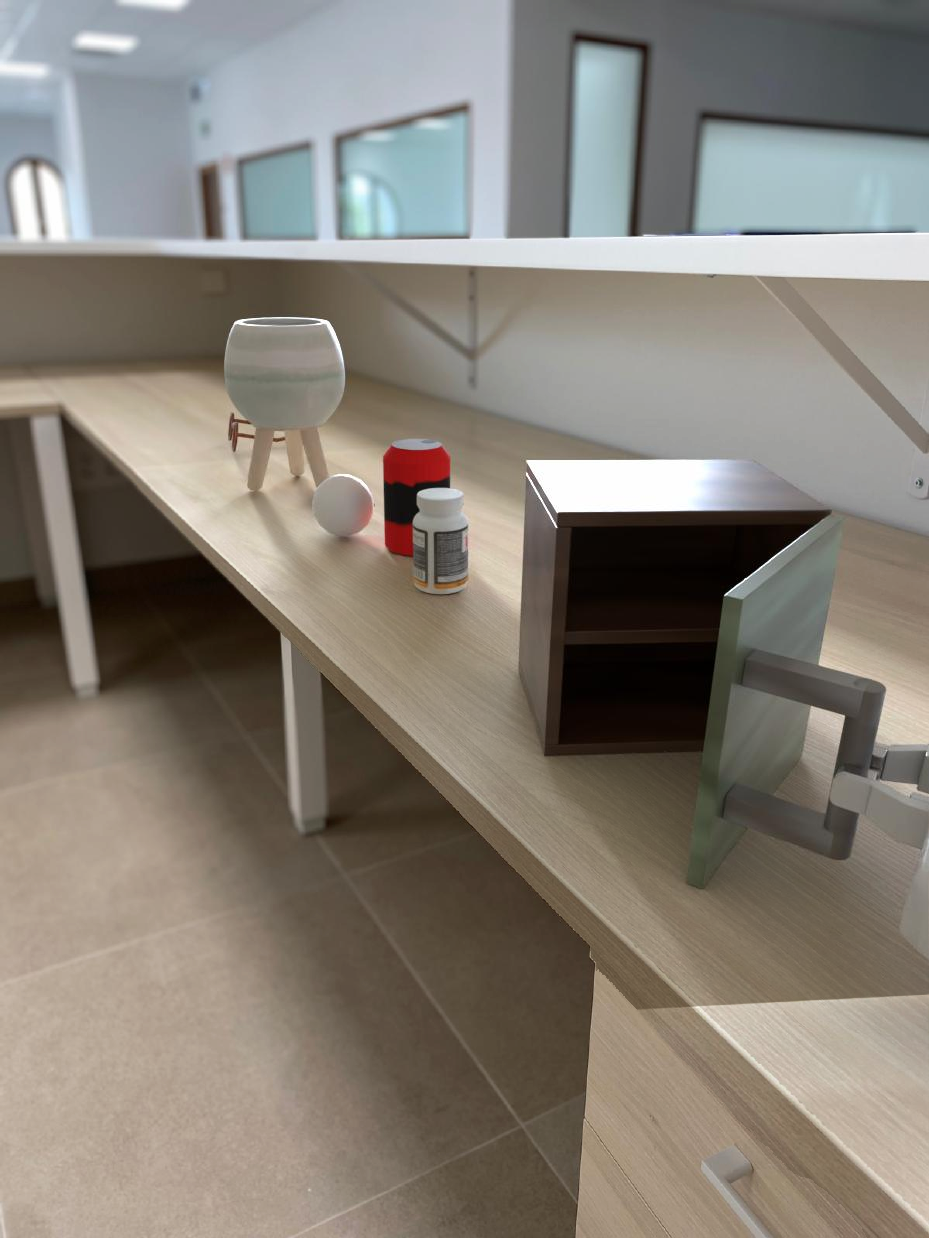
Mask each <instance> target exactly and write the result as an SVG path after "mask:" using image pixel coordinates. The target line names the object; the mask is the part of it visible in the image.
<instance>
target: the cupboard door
mask: <svg viewBox="0 0 929 1238" xmlns="http://www.w3.org/2000/svg"><path fill="white" fill-rule="evenodd" d="M845 520H846V516H841V515H836V514H832V513H831V514H830V515H828V516H827V517H826V518H824V519H823V520H822V521H820V522H819V523H818V524H816V525H815V526H814V527H813V528H811V529H810V530H809V531H807V532H806V533H805V534H803V535H802V536H801V537H800V538H798V539H797V540H796V541H794V542H793V543H792V544H790V545H789V546H788V547H787V548H785V549H784V550H783V551H781V552H780V553H779V554H777V555H776V556H775V557H774V558H772V559H771V560H770V561H768V562H767V563H766V564H764V565H763V566H762V567H761V568H759V569H758V570H757V571H755V572H754V573H753V574H751V575H750V576H749V577H748V578H746V579H745V580H744V581H742V582H741V583H740V584H738V585H737V586H736V587H735V588H733V589H732V590H731V591H729V592H728V593H727V594H725V595H724V599H723V606H722V614H721V621H720V629H719V637H718V644H717V652H716V659H715V667H714V674H713V682H712V689H711V697H710V704H709V712H708V719H707V727H706V734H705V742H704V750H703V752H702V756H701V757H702V758H701V766H700V771H699V772H700V773H699V780H698V782H699V783H698V787H697V795H696V803H695V811H694V818H693V826H692V831H691V841H690V849H689V855H688V862H687V870H686V878H685V883H686V884H689V885H691V886H693V887H695V888H698V889H701V890H702V889H703V888H704V887H705V886H706V885H707V883H708V882H709V881H710V879H711V878H712V876H714V874H715V873H716V871H717V869H719V867H720V866H721V864H722V863H723V862H724V860H725V859H726V858H727V856H729V854H730V852H731V851H732V850H733V848H735V846H736V845H737V843H738V842H739V840H740V839H741V838H742V837H743V835H744V834H745V832H746V831H747V830H748V829H750V830H753V831H755V832H758V833H759V834H764V835H765V836H769V837H771V838H774V839H776V840H780V841H782V842H785V843H788V844H790V845H793V846H795V847H799V848H801V849H804V850H806V851H808V852H812V853H813V854H814V853H815V854H816V855H817V854H818V855H820V856H823V857H825V858H828V859H830V860H835V861H846V860H848V859H849V858H850V857H851V856H852V851H853V846H854V842H855V838H856V832H857V827H858V823H859V819H860V814H859V813H856V812H853V811H850V810H847V809H844V808H841V807H838V806H835V805H834V804H832V802H831V801H830V798H829V796H830V793H829V795H828V800H827V804H826V809H825V813H824V812H821V811H818V810H815V809H812V808H811V807H806V806H804V805H801V804H799V803H795V802H792V801H790V800H787V799H784V798H781V797H778V796H775V795H774V794H775V793H776V791H777V790H778V789H779V788H780V786H781V784H782V783H783V782H784V780H785V779H786V778H787V776H788V775H789V774H790V772H792V770H793V769H794V767H795V766H796V764H797V763H798V762H799V761H800V759H801V758H802V757H803V752H804V746H805V741H806V736H807V730H808V726H809V725H808V724H809V719H810V714H811V708H812V707H813V708H817V709H821V710H825V711H828V712H831V713H835V714H838V715H841V716H844V719H843V724H842V729H841V734H840V738H839V744H838V749H837V755H836V759H835V765H834V769H833V770H834V771H833V774H832V779H831V784H830V790H829V792H830V791H831V787H832V782H833V779H834V777H835V775H836V773H837V771H838V769H839V768H840V766H841V765H843V764H846V763H847V764H848V763H849V764H852V765H855V766H857V767H858V768H867V769H869V768H870V763H871V759H872V754H873V749H874V745H875V742H876V739H877V734H878V730H879V726H880V721H881V716H882V712H883V707H884V704H885V703H884V702H885V698H886V695H887V694H886V693H887V687H886V686H885V684H883V683H882V682H880V681H878V680H874V679H871V678H868V677H865V676H860V675H857V674H852V673H849V672H845V671H841V670H838V669H835V668H830V667H826V666H822V665H820V657H821V654H822V653H821V652H822V648H823V643H824V637H825V631H826V625H827V620H828V614H829V609H830V608H829V607H830V603H831V598H832V592H833V586H834V581H835V576H836V570H837V565H838V560H839V559H838V558H839V553H840V549H841V544H842V543H841V542H842V537H843V532H844V527H845Z"/></svg>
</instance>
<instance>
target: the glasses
mask: <svg viewBox="0 0 929 1238" xmlns="http://www.w3.org/2000/svg"><path fill="white" fill-rule="evenodd" d="M228 422H229V423H228V428H227V429H228V430H227V439H228V441H230V442H231V451H232V452H234V453H235V452H236V451H237V447H238V438H244V439H245V438H246V439H252V440H254V437H255V434H251V433H246V432H245V433H244V432H239V424H243V425H251V426H252V424H251V423H250V422H249V421H247V420H246V419H242V418H235V413H234V411H233V412H230V415H229V421H228ZM284 441H285V436H280V437H273V442H274V443H279V442H284ZM273 442H272V443H273Z"/></svg>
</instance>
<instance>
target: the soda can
mask: <svg viewBox="0 0 929 1238" xmlns="http://www.w3.org/2000/svg"><path fill="white" fill-rule="evenodd" d="M451 459H452V457H451V455H450V453H449V452H448V451H447V450H446V448H445V447H444V446H443V444H442V442H441V441H438V440H435V439H427V438H405V439H399V440H395V441H393V442H391V444H390V446H389V447H388V449H387V450H386V451H385V452H384V454H383V456H382V474H383V475H382V476H383V483H382V484H383V523H384V524H383V525H384V526H383V527H384V528H383V529H384V530H383V531H384V533H383V534H384V546H385V548H387V549H388V550H389V552H392V553H393V554H397V555H400V556H407V557H413V519H414V517H415V515H416V514H417V513H419V512H420V509H419V508H418V506H417V493H418V492H419V491H422V490H425V489H430V488H450V489H451Z"/></svg>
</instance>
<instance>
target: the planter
mask: <svg viewBox="0 0 929 1238" xmlns="http://www.w3.org/2000/svg"><path fill="white" fill-rule="evenodd" d="M224 352H225V354H224V364H223V371H224V382H225V387H226V392H227V395H228V397H229V400H230V401H231V403H232V406H234V408H235V410H237V412H238V413H239V414H240V415H241V416H242V417H243V418H244V420H247V421H249V422H250V423H251V424H252V425H251V426H252V427H254V428H255V430H254V431H255V432H254V435H255V437H254V439H253V444H252V450H251V451H252V452H251V456H250V457H251V458H250V463H249V469H248V475H247V481H246V482H247V484H246V486H247V489H249V490H250V491H256V492H257V491H259V490H261V489H262V488H263V485H264V482H265V476H266V473H267V469H268V464H269V460H270V456H271V451H272V446H273V438H275V432H284V437H285V440H284V441H285V446H286V447H285V449H286V453H287V460H288V467H289V472H290V474H291V475H293V476H295V477H299V476H302V475H304V474H305V456H306V460H307V463H308V465H309V469H310V473H311V475H312V479H313V482H314V484H315V487H316V489H317V488H318V486H319V485H320V484H321V483H322V482H323V481H324V480H326V479H328V478H330V477H331V476H330V474H329V470H328V466H327V461H326V457H325V453H324V449H323V445H322V441H321V436H320V431H319V428H320V427H323V426H324V425H325V424H326V423H325V422H327V421H328V419H330V418H331V417H332V415H333V414H334V413H335V411H336V410H337V408H338V407H339V405H340V403H341V401H342V399H343V396H344V392H345V385H346V370H345V361H344V356H343V353H342V348H341V345H340V342H339V340H338V337H337V335H336V332H335V330H334V328H333V326H332V325H331V323H330V322H329V321H328V320H325V319H320V318H312V317H311V318H310V317H291V316H290V317H288V316H287V317H284V316H283V317H282V316H278V317H276V316H275V317H256V318H246V319H245V318H244V319H238V320H236V321H235V322H234V323H233V325H232V327H231V329H230V332H229V334H228V338H227V342H226V347H225V351H224ZM304 452H305V454H304ZM304 455H305V456H304Z"/></svg>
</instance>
